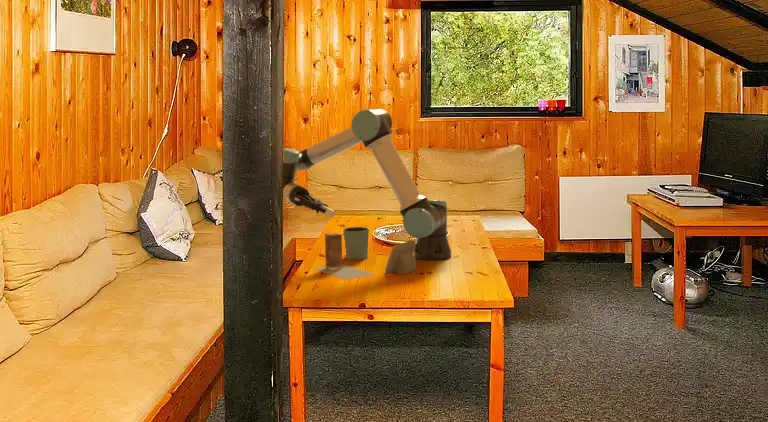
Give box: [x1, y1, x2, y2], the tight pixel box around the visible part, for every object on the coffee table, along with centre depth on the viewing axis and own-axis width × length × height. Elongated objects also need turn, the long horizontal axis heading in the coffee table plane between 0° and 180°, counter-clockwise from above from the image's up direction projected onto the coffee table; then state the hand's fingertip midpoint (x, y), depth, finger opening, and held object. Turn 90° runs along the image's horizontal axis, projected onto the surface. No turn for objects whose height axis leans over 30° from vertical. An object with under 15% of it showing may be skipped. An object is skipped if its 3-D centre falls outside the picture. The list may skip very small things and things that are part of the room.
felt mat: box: [314, 263, 376, 280], centre depth 299 cm, size 22×13×1 cm, turn 35°
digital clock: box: [384, 240, 417, 275], centre depth 300 cm, size 16×9×11 cm, turn 139°
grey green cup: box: [342, 226, 370, 261], centre depth 323 cm, size 10×10×12 cm
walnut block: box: [324, 232, 343, 270], centre depth 304 cm, size 4×4×13 cm
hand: (332, 214), depth 307 cm, fingers closed
